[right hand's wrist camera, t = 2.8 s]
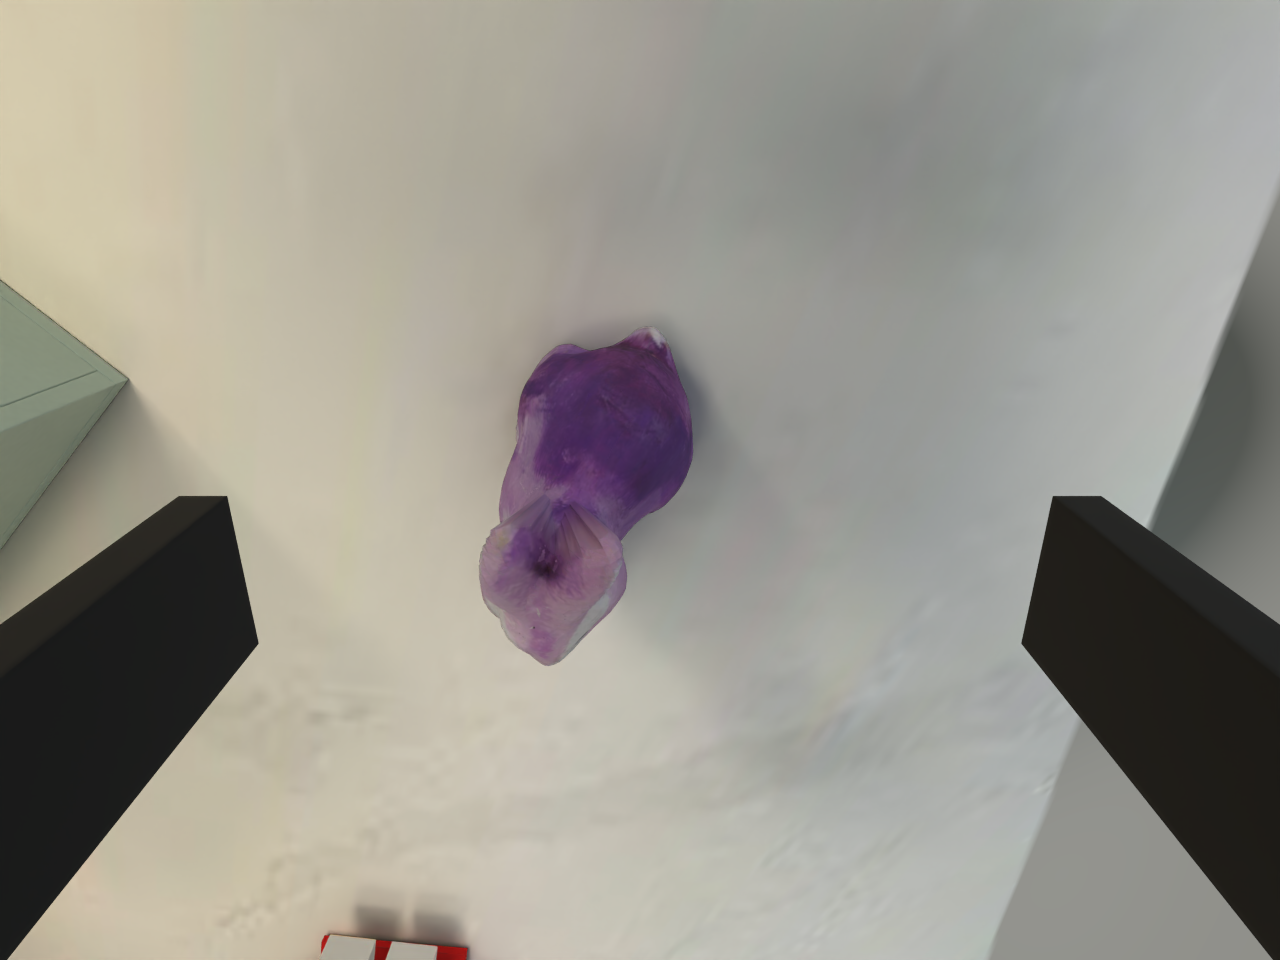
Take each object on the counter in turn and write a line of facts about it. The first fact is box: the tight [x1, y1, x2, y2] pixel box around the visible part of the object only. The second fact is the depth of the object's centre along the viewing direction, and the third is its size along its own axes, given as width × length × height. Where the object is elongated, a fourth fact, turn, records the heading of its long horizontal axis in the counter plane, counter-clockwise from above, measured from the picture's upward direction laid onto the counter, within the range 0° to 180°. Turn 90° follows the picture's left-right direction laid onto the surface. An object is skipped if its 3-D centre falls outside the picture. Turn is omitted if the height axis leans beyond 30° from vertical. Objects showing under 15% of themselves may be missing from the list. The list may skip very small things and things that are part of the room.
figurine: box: [479, 327, 693, 666], centre depth 31 cm, size 9×10×15 cm
